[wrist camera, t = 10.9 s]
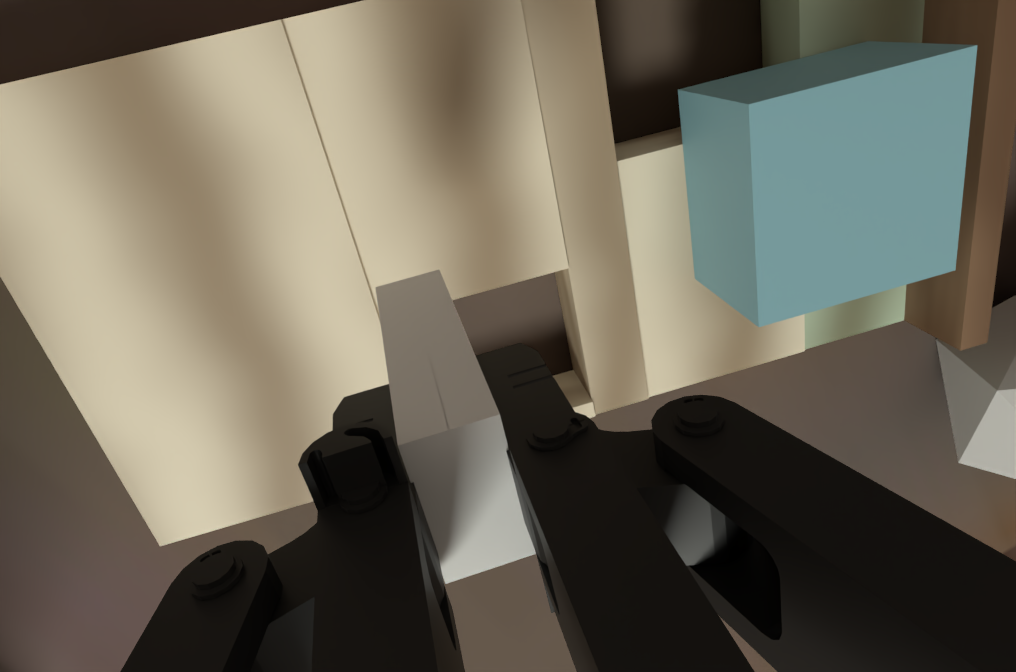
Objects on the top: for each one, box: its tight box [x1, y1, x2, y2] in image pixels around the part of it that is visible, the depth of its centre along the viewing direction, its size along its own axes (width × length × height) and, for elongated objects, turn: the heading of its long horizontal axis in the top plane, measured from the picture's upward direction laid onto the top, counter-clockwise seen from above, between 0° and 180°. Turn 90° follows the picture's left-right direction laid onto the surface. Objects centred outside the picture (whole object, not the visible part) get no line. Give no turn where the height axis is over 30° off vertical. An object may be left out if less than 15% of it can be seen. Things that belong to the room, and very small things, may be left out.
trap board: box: [0, 0, 1016, 546], centre depth 20 cm, size 28×14×5 cm, turn 102°
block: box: [678, 41, 977, 327], centre depth 19 cm, size 6×6×4 cm
